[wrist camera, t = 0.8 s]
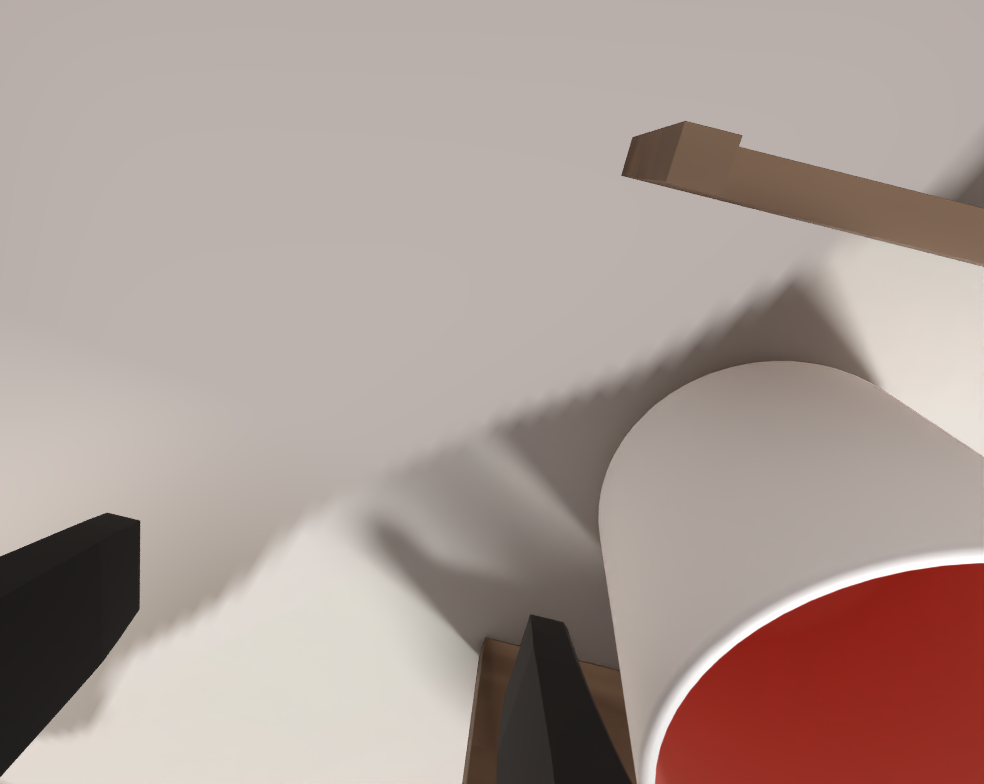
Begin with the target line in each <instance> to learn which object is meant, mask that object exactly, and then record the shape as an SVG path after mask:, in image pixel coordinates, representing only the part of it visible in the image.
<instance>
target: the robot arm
mask: <svg viewBox="0 0 984 784" xmlns="http://www.w3.org/2000/svg"><path fill="white" fill-rule="evenodd" d="M139 598H140V521H139V520H135V519H131V518H127V517H123V516H119V515H115V514H110V513H105V514H102V515H100V516H97V517H95V518H92V519H89V520H87V521H84V522H82V523H79V524H77V525H74V526H72V527H70V528H67V529H65V530H63V531H60V532H58V533H55V534H53V535H51V536H48V537H46V538H43V539H41V540H39V541H36V542H34V543H32V544H29V545H27V546H24V547H22V548H20V549H17V550H15V551H13V552H10V553H8V554H5V555H3V556H0V777H1V776H2V775H3V773H4V772H5V771H6V770H7V769H8V768H9V767H10V766H11V765H12V763H13V762H14V761H15V760H16V759H17V758H18V757H19V756H20V754H21V753H22V752H23V751H24V750H25V749H26V748H27V747H28V746H29V744H30V743H31V742H32V741H33V740H34V739H35V738H36V737H37V735H38V734H39V733H40V732H41V731H42V730H43V729H44V728H45V727H46V725H47V724H48V723H49V722H50V721H51V720H52V719H53V718H54V717H55V715H56V714H57V713H58V712H59V711H60V710H61V709H62V707H63V706H64V705H65V704H66V703H67V702H68V701H69V700H70V698H71V697H72V696H73V695H74V694H75V693H76V692H77V691H78V689H79V688H80V687H81V686H82V684H84V683H85V682H86V680H87V679H88V678H89V677H90V676H91V675H92V674H93V672H94V671H95V670H96V669H97V668H98V667H99V665H100V664H101V663H102V662H103V661H104V659H105V658H106V656H107V655H108V654H109V652H110V651H111V650H112V648H113V647H114V645H115V644H116V643H117V641H118V640H119V638H120V637H121V636H122V634H123V633H124V631H125V630H126V628H127V626H128V625H129V624H130V622H131V621H132V619H133V618H134V616H135V615H136V613H137V612H138V611H139V603H140V601H139V600H140V599H139ZM496 784H632V782H631V780H630V778H629V776H628V774H627V772H626V770H625V768H624V766H623V764H622V762H621V760H620V758H619V755H618V753H617V751H616V749H615V747H614V745H613V743H612V741H611V738H610V736H609V734H608V732H607V729H606V727H605V725H604V723H603V720H602V718H601V716H600V713H599V711H598V709H597V707H596V704H595V702H594V699H593V697H592V695H591V692H590V690H589V687H588V685H587V682H586V679H585V677H584V674H583V672H582V669H581V667H580V664H579V661H578V658H577V656H576V653H575V650H574V647H573V644H572V641H571V638H570V635H569V632H568V629H567V627H566V626H565V624H564V623H563V622H560V621H556V620H551V619H547V618H543V617H539V616H535V615H531V614H530V617H529V620H528V623H527V627H526V630H525V633H524V636H523V639H522V642H521V645H520V649H519V652H518V655H517V658H516V661H515V664H514V667H513V671H512V674H511V677H510V680H509V683H508V686H507V689H506V692H505V696H504V702H503V710H502V718H501V726H500V735H499V743H498V752H497V777H496Z"/></svg>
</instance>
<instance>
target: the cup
mask: <svg viewBox="0 0 984 784" xmlns="http://www.w3.org/2000/svg"><path fill="white" fill-rule="evenodd" d="M598 523H599V533H600V542H601V548H602V555H603V561H604V568H605V574H606V581H607V587H608V594H609V601H610V607H611V614H612V620H613V627H614V634H615V640H616V647H617V654H618V660H619V667H620V674H621V680H622V687H623V694H624V700H625V707H626V714H627V720H628V727H629V734H630V741H631V747H632V754H633V761H634V767H635V774H636V781H637V784H984V457H983V456H982V455H980V454H979V453H977V452H976V451H974V450H973V449H971V448H970V447H968V446H967V445H965V444H964V443H962V442H961V441H959V440H958V439H956V438H955V437H953V436H952V435H950V434H949V433H947V432H945V431H944V430H942V429H941V428H939V427H938V426H936V425H935V424H933V423H932V422H930V421H929V420H927V419H926V418H924V417H923V416H921V415H920V414H918V413H917V412H915V411H914V410H912V409H911V408H909V407H908V406H906V405H905V404H903V403H902V402H900V401H899V400H897V399H896V398H894V397H893V396H891V395H890V394H888V393H887V392H885V391H884V390H882V389H881V388H879V387H877V386H876V385H874V384H872V383H870V382H868V381H866V380H864V379H862V378H860V377H858V376H856V375H853V374H850V373H847V372H845V371H842V370H839V369H835V368H832V367H828V366H824V365H818V364H813V363H806V362H796V361H767V362H756V363H749V364H743V365H738V366H734V367H730V368H726V369H723V370H719V371H716V372H713V373H710V374H708V375H705V376H703V377H700V378H698V379H696V380H694V381H692V382H690V383H688V384H686V385H684V386H682V387H681V388H679V389H677V390H676V391H674V392H672V393H671V394H669V395H668V396H666V397H665V398H664V399H662V400H661V401H659V402H658V403H657V404H656V405H655V406H653V407H652V408H651V409H650V410H649V411H648V412H647V413H646V414H645V415H644V416H643V417H642V418H641V419H640V420H639V421H638V422H637V423H636V424H635V425H634V426H633V427H632V429H631V430H630V431H629V433H628V434H627V435H626V437H625V438H624V439H623V441H622V442H621V444H620V446H619V447H618V449H617V451H616V452H615V454H614V456H613V458H612V461H611V463H610V465H609V467H608V469H607V473H606V476H605V479H604V482H603V485H602V490H601V495H600V501H599V518H598Z"/></svg>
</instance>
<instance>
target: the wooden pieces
mask: <svg viewBox="0 0 984 784" xmlns="http://www.w3.org/2000/svg"><path fill="white" fill-rule="evenodd" d="M741 138H742V135H739V134H734V133H731V132H727V131H723V130H719V129H715V128H711V127H707V126H703V125H699V124H695V123H691V122H687V121H684V122H681V123H677V124H674V125H671V126H668V127H665V128H661V129H658V130H655V131H652V132H648V133H645V134H642V135H639V136H636V137H633V138H632V141H631V145H630V148H629V151H628V155H627V158H626V162H625V165H624V169H623V172H622V176H625V177H629V178H633V179H637V180H641V181H645V182H649V183H653V184H657V185H661V186H665V187H669V188H673V189H677V190H681V191H685V192H689V193H693V194H697V195H701V196H705V197H709V198H713V199H717V200H721V201H725V202H729V203H733V204H737V205H741V206H744V207H748V208H752V209H757V210H761V211H765V212H768V213H772V214H776V215H781V216H784V217H788V218H792V219H796V220H800V221H804V222H808V223H813V224H816V225H820V226H824V227H828V228H832V229H836V230H840V231H844V232H848V233H852V234H856V235H860V236H864V237H868V238H872V239H876V240H880V241H884V242H888V243H892V244H896V245H900V246H904V247H908V248H912V249H916V250H920V251H924V252H928V253H932V254H936V255H940V256H943V257H947V258H951V259H955V260H959V261H963V262H967V263H971V264H975V265H979V266H983V267H984V208H980V207H976V206H972V205H968V204H964V203H960V202H956V201H952V200H948V199H944V198H940V197H936V196H932V195H928V194H924V193H920V192H916V191H912V190H908V189H905V188H901V187H896V186H893V185H889V184H884V183H881V182H877V181H872V180H868V179H865V178H861V177H857V176H852V175H849V174H845V173H841V172H837V171H833V170H829V169H825V168H821V167H817V166H813V165H809V164H805V163H801V162H797V161H793V160H789V159H785V158H781V157H777V156H774V155H769V154H766V153H762V152H757V151H753V150H749V149H746V148H741V147H739V144H740V141H741ZM519 649H520V646H516V645H512V644H508V643H504V642H500V641H495V640H491V639H487V638H485V639H484V642H483V646H482V649H481V653H480V656H479V662H478V669H477V677H476V684H475V692H474V699H473V707H472V714H471V722H470V729H469V737H468V745H467V752H466V760H465V767H464V775H463V782H462V784H496V777H497V752H498V743H499V735H500V726H501V718H502V710H503V702H504V696H505V692H506V689H507V686H508V683H509V680H510V677H511V674H512V671H513V667H514V664H515V661H516V658H517V655H518V652H519ZM579 664H580V667H581V669H582V672H583V674H584V677H585V679H586V682H587V685H588V687H589V690H590V692H591V695H592V697H593V699H594V702H595V704H596V707H597V709H598V711H599V713H600V716H601V718H602V720H603V723H604V725H605V727H606V729H607V732H608V734H609V736H610V738H611V741H612V743H613V745H614V747H615V749H616V751H617V753H618V755H619V758H620V760H621V762H622V764H623V766H624V768H625V770H626V772H627V774H628V776H629V778H630V780H631V782H632V784H637V781H636V774H635V767H634V761H633V754H632V747H631V741H630V734H629V727H628V720H627V714H626V707H625V700H624V694H623V687H622V680H621V674H620V671H618V670H614V669H609V668H605V667H601V666H597V665H593V664H589V663H585V662H581V661H579Z"/></svg>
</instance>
